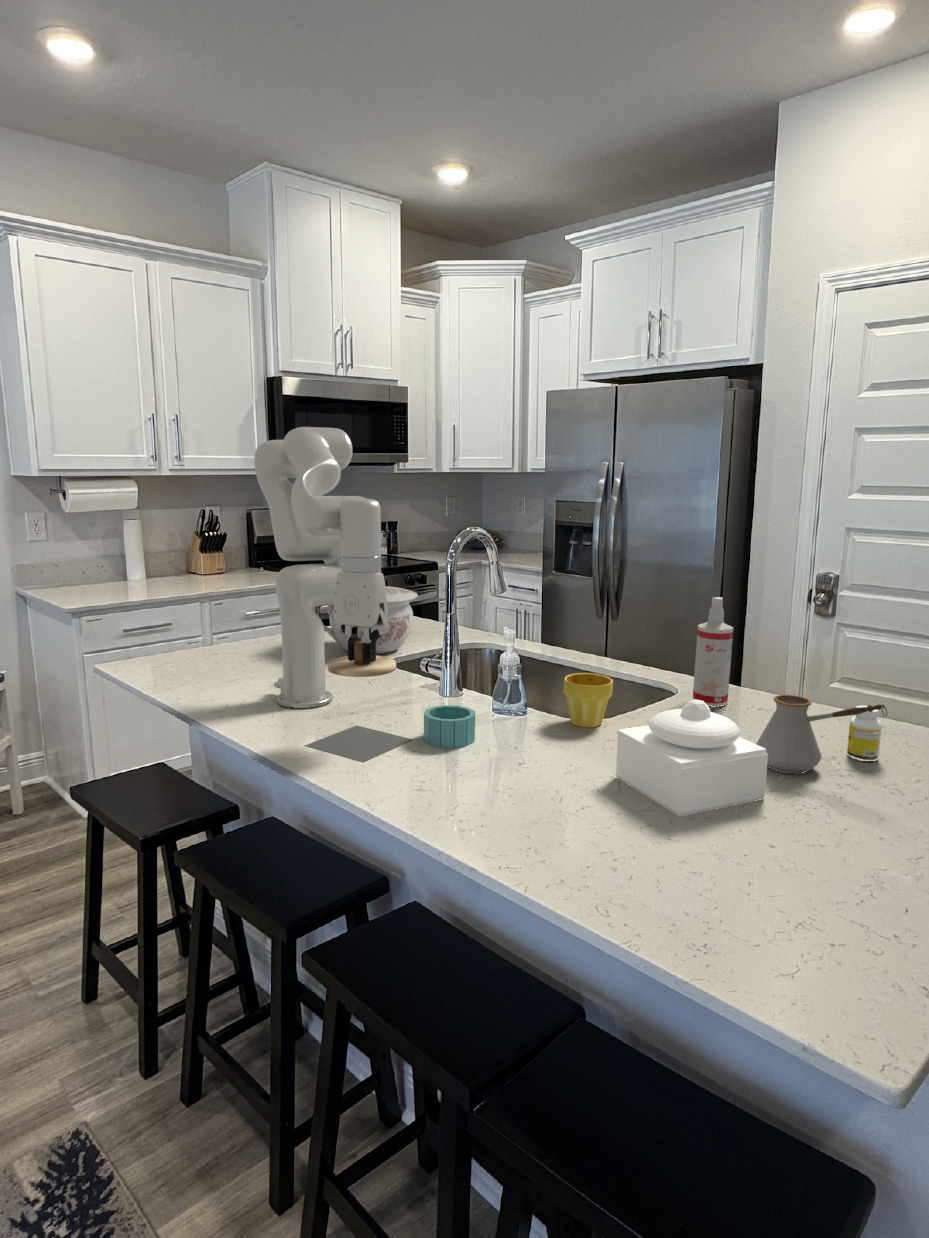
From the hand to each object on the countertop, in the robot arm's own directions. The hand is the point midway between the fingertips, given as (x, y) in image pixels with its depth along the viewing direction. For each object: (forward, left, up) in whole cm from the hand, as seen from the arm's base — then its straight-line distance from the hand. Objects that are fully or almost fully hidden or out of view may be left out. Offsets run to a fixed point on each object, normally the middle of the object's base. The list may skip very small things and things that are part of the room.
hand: (362, 659), depth 152 cm
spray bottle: (+47, +69, -17) cm, 85 cm away
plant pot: (+30, +38, -17) cm, 52 cm away
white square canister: (+59, +17, -18) cm, 64 cm away
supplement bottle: (+82, +50, -17) cm, 97 cm away
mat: (0, -1, -17) cm, 17 cm away
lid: (0, 0, -2) cm, 2 cm away
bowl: (+13, +11, -17) cm, 24 cm away
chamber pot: (-52, +63, -17) cm, 84 cm away
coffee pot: (+76, +36, -17) cm, 86 cm away
